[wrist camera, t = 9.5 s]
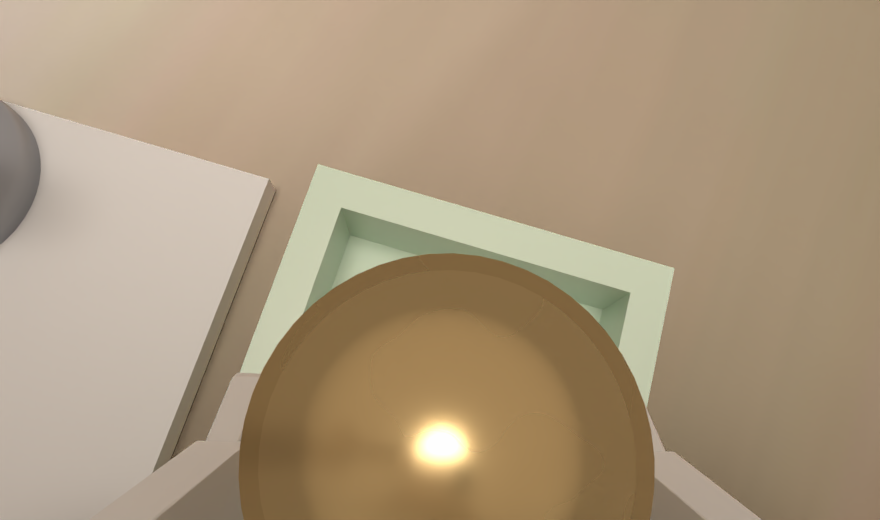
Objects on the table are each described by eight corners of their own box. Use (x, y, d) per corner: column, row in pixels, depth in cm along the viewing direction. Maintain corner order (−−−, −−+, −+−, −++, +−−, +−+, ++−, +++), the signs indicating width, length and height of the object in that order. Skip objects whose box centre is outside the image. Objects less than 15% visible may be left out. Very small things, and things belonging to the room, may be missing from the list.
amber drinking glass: (319, 498, 16) (170, 613, 6) (372, 332, 17) (320, 207, 7) (485, 550, 16) (606, 751, 6) (528, 379, 17) (688, 315, 7)
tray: (192, 598, 17) (138, 640, 14) (333, 207, 20) (317, 164, 17) (540, 709, 17) (572, 780, 13) (630, 294, 20) (674, 268, 17)
